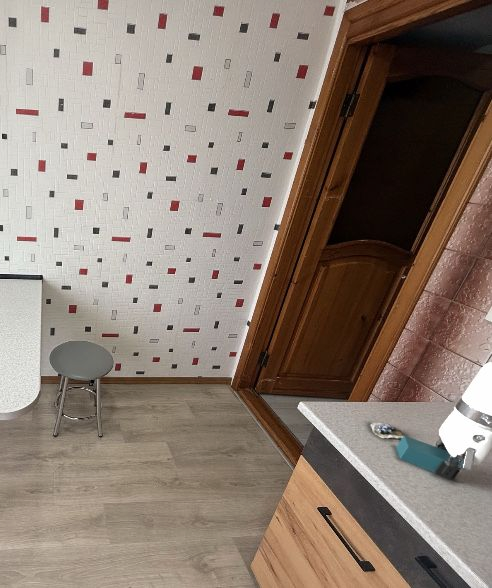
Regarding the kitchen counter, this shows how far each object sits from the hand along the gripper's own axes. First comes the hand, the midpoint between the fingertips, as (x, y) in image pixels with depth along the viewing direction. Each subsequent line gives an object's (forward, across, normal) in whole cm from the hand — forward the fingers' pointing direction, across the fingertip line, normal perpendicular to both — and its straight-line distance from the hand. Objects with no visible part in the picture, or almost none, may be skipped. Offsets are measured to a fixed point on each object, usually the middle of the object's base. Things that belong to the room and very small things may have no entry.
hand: (439, 468), depth 83 cm
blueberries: (+1, +8, +9) cm, 12 cm away
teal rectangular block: (-2, 0, +3) cm, 4 cm away
